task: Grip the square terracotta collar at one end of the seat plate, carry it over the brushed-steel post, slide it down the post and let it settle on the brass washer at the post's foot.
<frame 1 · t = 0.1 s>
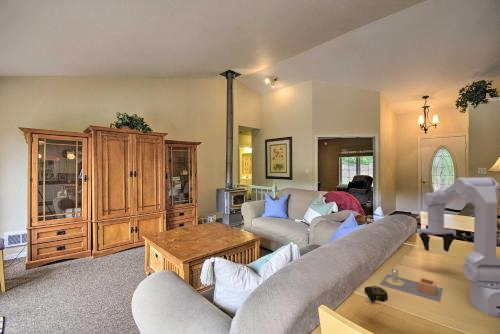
hand: (436, 250, 108), 10 cm above the table, fingers open, 7 cm apart
tape measure: (375, 300, 87), on the table
collar: (427, 290, 91), point 1 cm above the table, touching seat plate
steel post: (395, 285, 98), resting on seat plate
seat plate: (410, 289, 94), on the table
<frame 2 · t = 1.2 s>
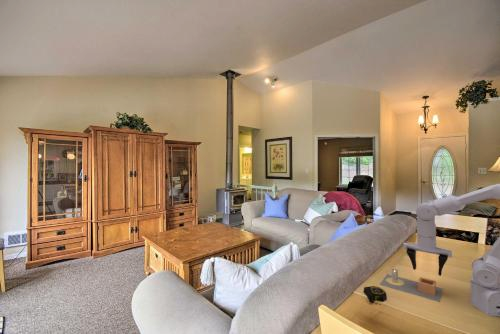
hand: (426, 271, 91), 8 cm above the table, fingers open, 7 cm apart
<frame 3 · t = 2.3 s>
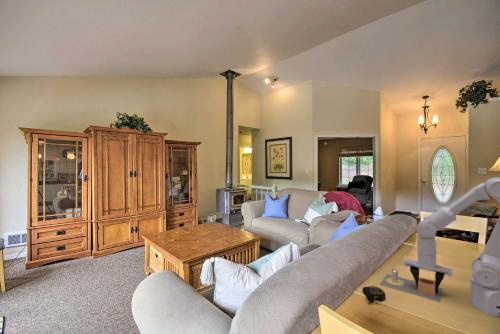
hand: (427, 289, 91), 2 cm above the table, fingers closed on collar, 5 cm apart
collar: (427, 290, 91), point 1 cm above the table, touching gripper, seat plate
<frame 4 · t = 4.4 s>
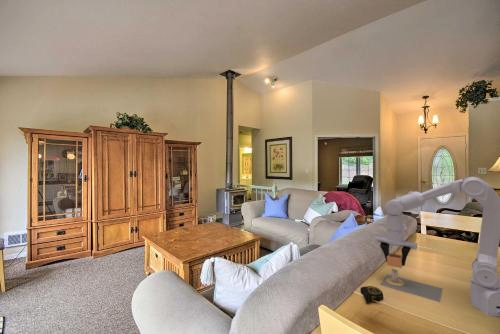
hand: (395, 263, 97), 9 cm above the table, fingers closed on collar, 5 cm apart
collar: (395, 264, 97), point 8 cm above the table, touching gripper
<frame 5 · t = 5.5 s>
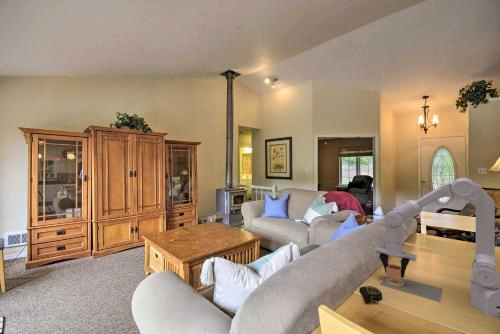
hand: (394, 274, 98), 4 cm above the table, fingers closed on collar, 5 cm apart
collar: (394, 275, 98), point 4 cm above the table, touching gripper
when the fingers open (3 cm above the table, at t = 6.3 s): collar drops 1 cm, resting on seat plate.
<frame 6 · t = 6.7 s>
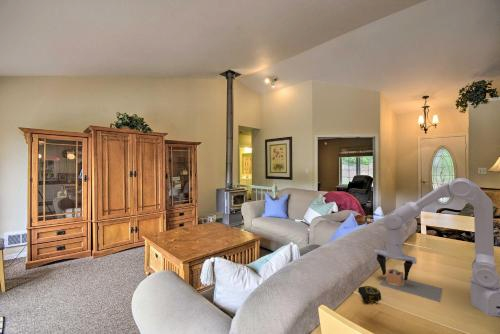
hand: (394, 276, 98), 3 cm above the table, fingers open, 7 cm apart
collar: (395, 281, 98), point 1 cm above the table, touching seat plate
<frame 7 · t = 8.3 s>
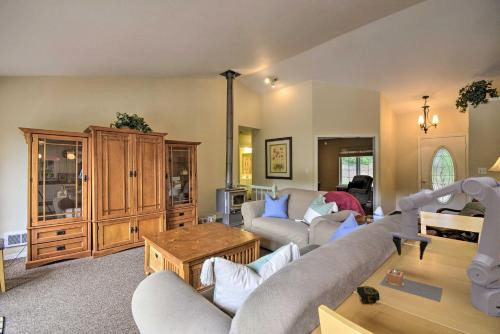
hand: (410, 256, 102), 9 cm above the table, fingers open, 7 cm apart
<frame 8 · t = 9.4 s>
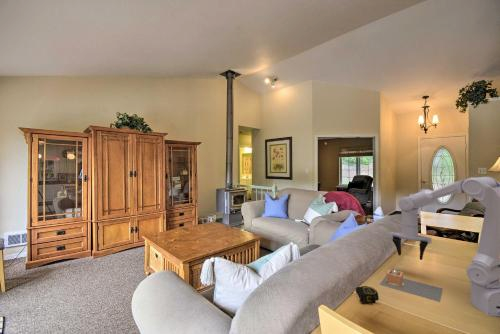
hand: (410, 256, 102), 9 cm above the table, fingers open, 7 cm apart
at the end: collar 0.0 cm from the steel post (horizontally); collar point 1.5 cm above the table; the gripper is holding nothing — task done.
